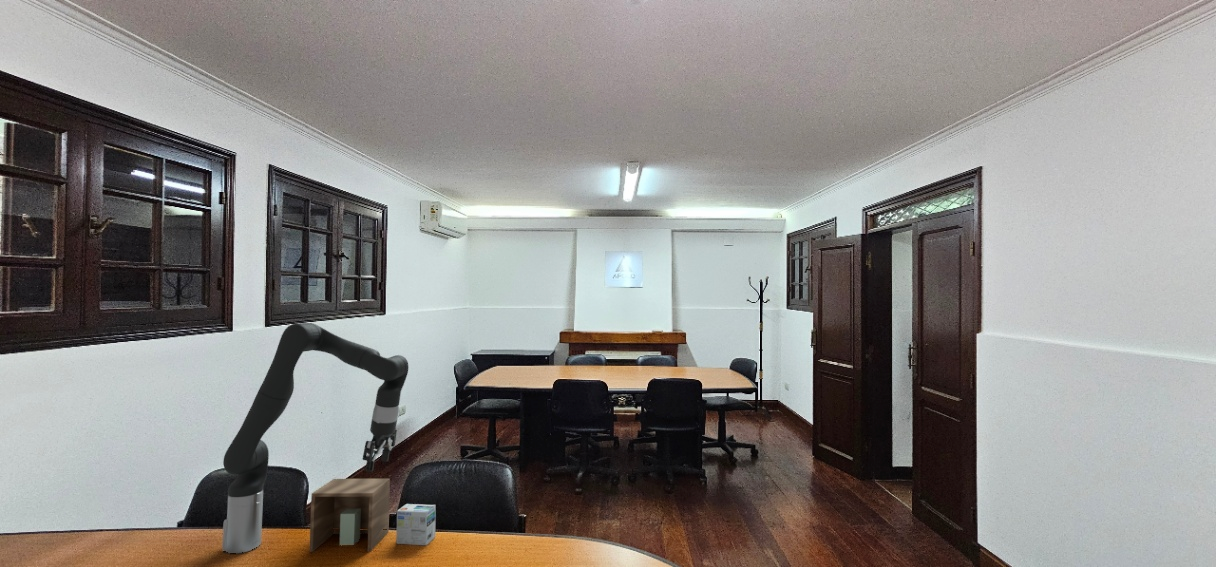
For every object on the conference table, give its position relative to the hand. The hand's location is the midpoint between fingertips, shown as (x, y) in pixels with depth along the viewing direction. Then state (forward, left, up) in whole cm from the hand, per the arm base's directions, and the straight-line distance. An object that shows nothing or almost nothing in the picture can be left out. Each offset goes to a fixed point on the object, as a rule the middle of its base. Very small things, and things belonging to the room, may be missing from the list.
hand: (376, 466), depth 164 cm
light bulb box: (+11, +5, -26) cm, 29 cm away
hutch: (-10, +4, -26) cm, 28 cm away
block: (-10, +4, -26) cm, 28 cm away
